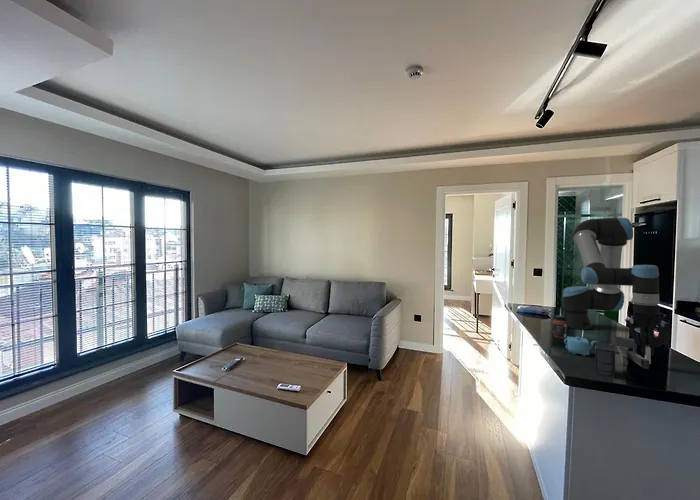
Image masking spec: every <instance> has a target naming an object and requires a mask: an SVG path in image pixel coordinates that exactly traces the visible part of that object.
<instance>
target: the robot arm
mask: <svg viewBox="0 0 700 500" xmlns="http://www.w3.org/2000/svg"><path fill="white" fill-rule="evenodd" d="M572 238H573V242H574V243H575V244H576V245H577V248H578V250H579V254H580V257H581V260H582V263H583V267H582V269H581V272H580V277H581V281H582V283H583V284H585V285H587V284H588V285H593V288H592V289H591V288H590V289H589V287H588V286H584V285H583V286H579V285H578V286H567V287H565V288H563V291H562V293H563V294H562V298H563V299H562V301H563V302H562V303H563V310H562V311H563V312H562V314H561V316H564V317H565V321H567V328H568V327H569V328H570V329H574V330H591V329H592V328H593V324H592V321H591V319H590V315H589V310H590V311H591V310H593V311H604V312H605V311H607V312H618V311H621V310H622V309H623V306H624V303H625V294H624V291H622V290H621V288H620V287H619V286H624V287H625V286H630V287H631V286H632V302H633V303H632V311H633V313H632V315H631V317H629V318H625V319H624V321H625V323H626V324H627V325H628V327H629V331H630V333H631V336H632V339H634V341H635V343H636V344H637V346H638V345H639V346H640V353H641V355H644V359H646V360H648V361H649V365H651V364H652V359H651V357H652V356H655V349H656V348H661V346H662V343H663V341H664V338H665V335H666V332H667V330H668V329H669V328H671V324H670V323H669V322H666V321H664V320H663V319H662V316H661V312H660V311H661V308H660V302H661V301H660V273H659V267H658V266H657V265H654V264H635V265H632V267H629V268H628V267H627V268H625V267H621V260H622V252H623V247H625V246H626V245H627V243H628V241H631V240H633V238H634V228H633V224H632V222H631V220H630V219H629V218H627V217H607V218H606V217H605V218H589V219H586V220H584V221H582V222H581V223H579V224H577V226H576V227H575V228H574V230H573V233H572ZM598 244H599V246H600V248H599V246H598ZM634 322H635V323H636V324H637V325H638V326H639V336H640V337H639V338H640V339H639V338H638V335H637V333H636V330H635V327H634V325H633V324H634ZM658 325H660V328H659V331H658V335H657V337H656V340H655V327H657V326H658ZM569 328H568V329H569ZM646 328H648V345H647V344H646V343H647V341H646V339H647V338H646Z"/></svg>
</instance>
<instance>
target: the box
mask: <svg viewBox="0 0 700 500" xmlns="http://www.w3.org/2000/svg"><path fill="white" fill-rule="evenodd" d="M595 375H597V376H601V377H605V378H611V379H615V378H616V353H615V349H614V343H605V342H600V341H598V342H595Z"/></svg>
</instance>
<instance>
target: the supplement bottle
mask: <svg viewBox="0 0 700 500" xmlns="http://www.w3.org/2000/svg"><path fill="white" fill-rule="evenodd" d="M552 321H553V322H552V323H553V324H552V325H553V326H552V327H553V328H552V330H553V331H552V332H553V337H554V338H556V339H560V340H565V339H567V336H568V327H567V321H565V317H564V316H562V314H559V315H555V318H554V319H553V320H552Z"/></svg>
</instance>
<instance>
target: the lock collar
mask: <svg viewBox="0 0 700 500" xmlns="http://www.w3.org/2000/svg"><path fill="white" fill-rule="evenodd" d="M613 344H614V349H615V354H617V353H618V352H617V351H618V349H617V347H623V348H627V349H632V351H633V352H635V353H637V354H638V352H637V351H638V350H637V349H638V348H637V347H638V344H636V343H635V341H634V339H633V338H630V337H622V336H615V335H614V336H613Z"/></svg>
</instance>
